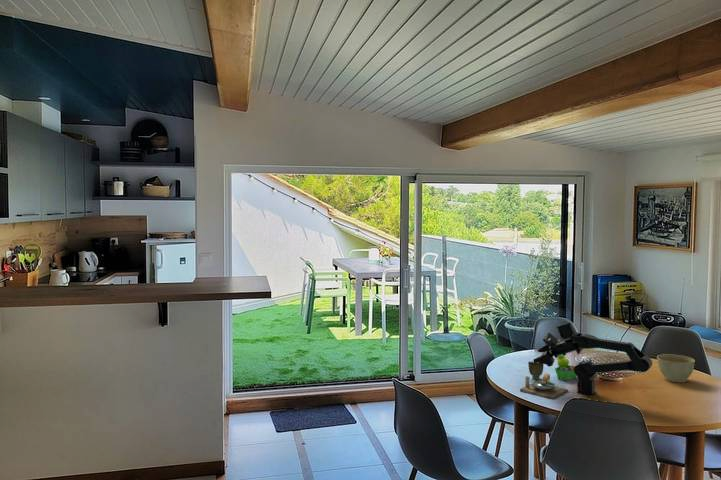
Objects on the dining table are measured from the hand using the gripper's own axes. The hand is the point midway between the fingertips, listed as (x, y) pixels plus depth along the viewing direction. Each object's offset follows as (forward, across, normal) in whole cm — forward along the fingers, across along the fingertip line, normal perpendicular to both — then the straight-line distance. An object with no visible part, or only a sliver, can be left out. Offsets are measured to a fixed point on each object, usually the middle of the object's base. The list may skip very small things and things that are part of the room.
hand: (535, 355), depth 260 cm
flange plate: (-2, +12, +10) cm, 16 cm away
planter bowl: (-41, -34, +48) cm, 72 cm away
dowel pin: (+5, +15, +8) cm, 18 cm away
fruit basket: (-2, -11, +21) cm, 24 cm away
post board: (-2, +15, +11) cm, 19 cm away
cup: (+8, -3, +13) cm, 15 cm away
